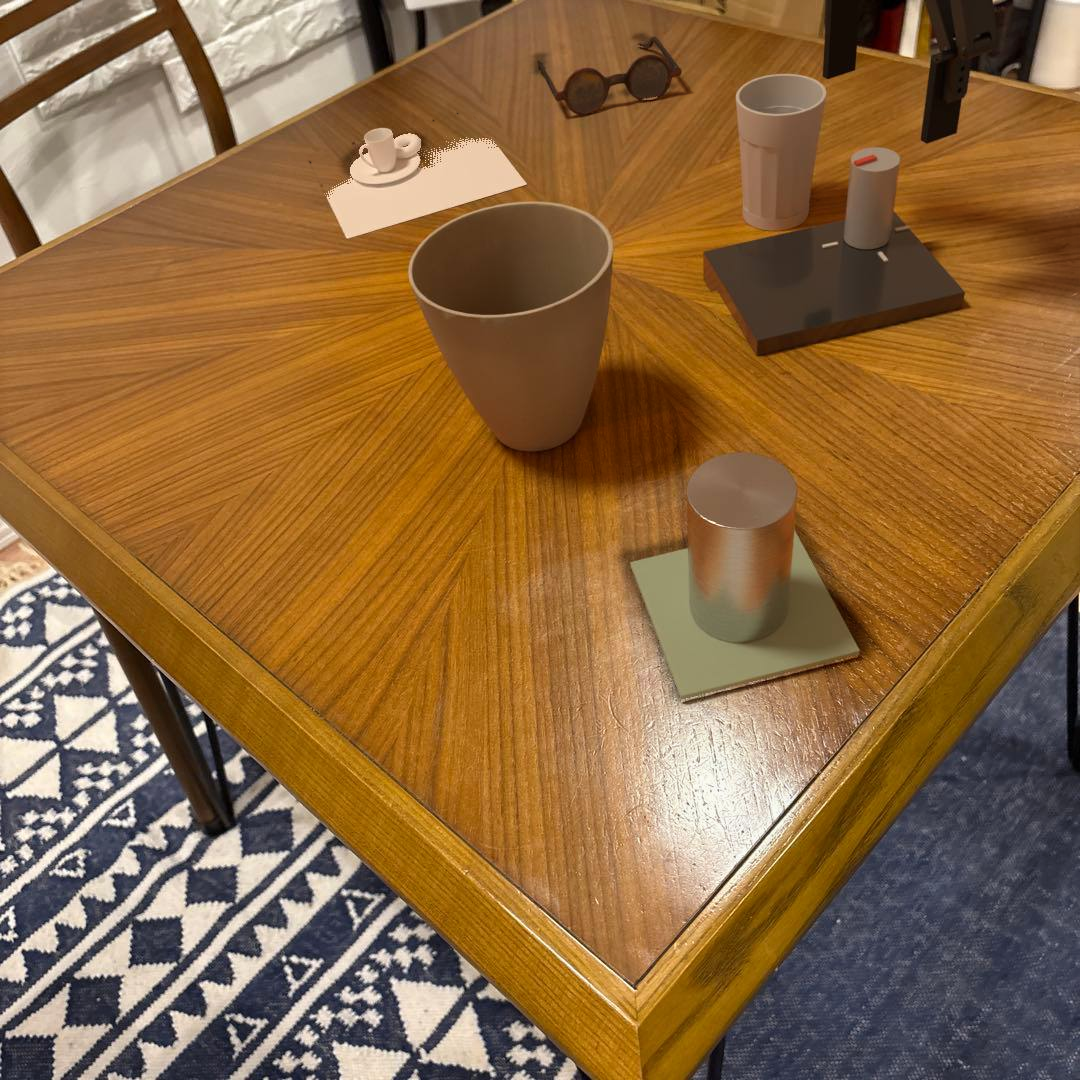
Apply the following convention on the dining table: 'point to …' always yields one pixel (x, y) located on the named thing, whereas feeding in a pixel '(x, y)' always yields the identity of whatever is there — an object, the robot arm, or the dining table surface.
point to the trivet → (720, 664)
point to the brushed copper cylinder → (740, 545)
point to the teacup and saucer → (416, 181)
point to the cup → (778, 147)
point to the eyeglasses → (616, 81)
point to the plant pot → (519, 313)
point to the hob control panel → (826, 285)
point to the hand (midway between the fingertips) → (886, 103)
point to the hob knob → (871, 197)
